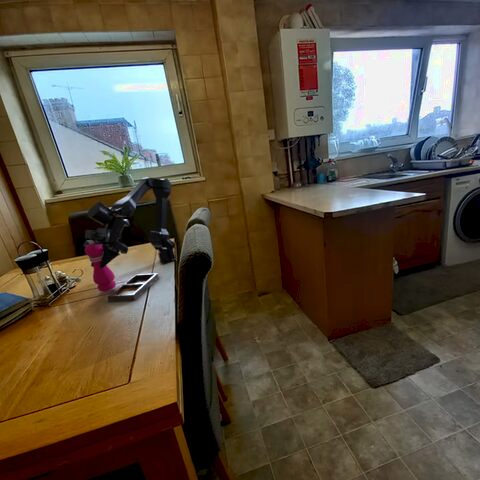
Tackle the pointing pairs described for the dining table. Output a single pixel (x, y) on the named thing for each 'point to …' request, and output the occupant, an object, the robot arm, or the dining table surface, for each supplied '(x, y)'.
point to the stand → (133, 287)
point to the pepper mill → (100, 275)
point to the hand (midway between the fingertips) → (96, 267)
